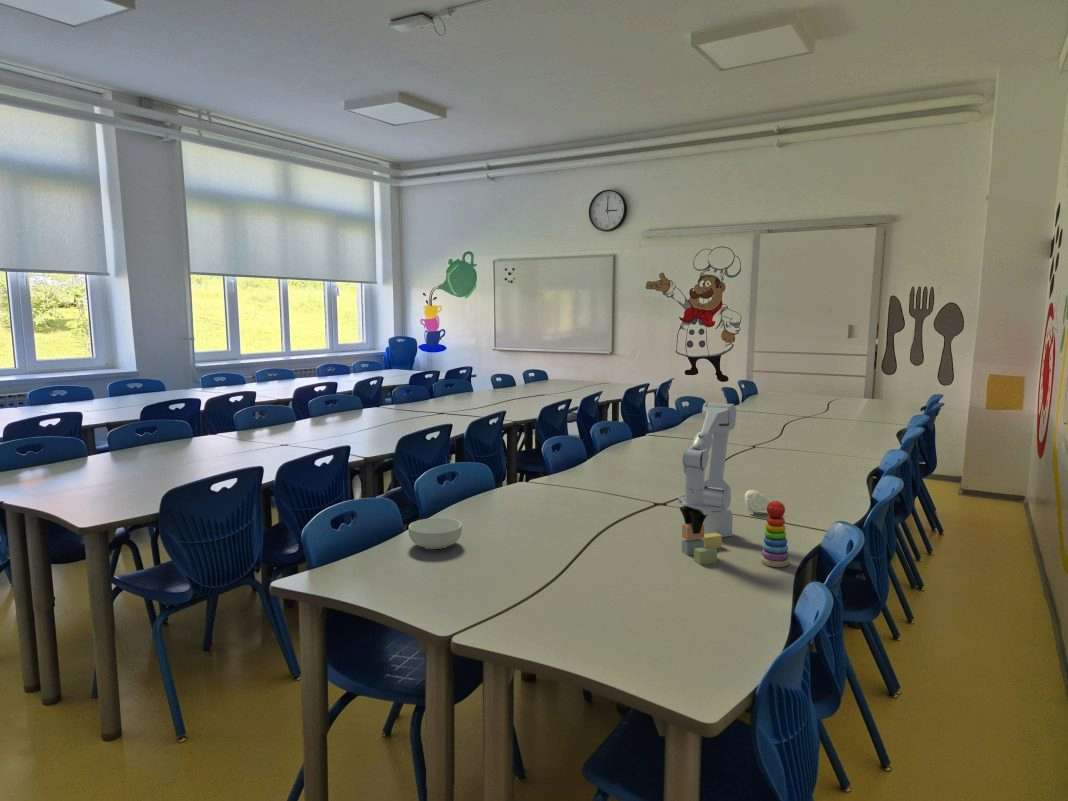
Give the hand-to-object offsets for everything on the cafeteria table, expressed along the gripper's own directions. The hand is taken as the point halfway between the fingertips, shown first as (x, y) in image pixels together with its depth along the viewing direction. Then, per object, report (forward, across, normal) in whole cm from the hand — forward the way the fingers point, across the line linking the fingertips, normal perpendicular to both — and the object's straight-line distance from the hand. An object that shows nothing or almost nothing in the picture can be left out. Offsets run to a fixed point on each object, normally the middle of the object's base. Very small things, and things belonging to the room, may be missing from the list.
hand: (693, 531), depth 204 cm
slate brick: (+7, 0, 0) cm, 7 cm away
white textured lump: (+7, -26, +47) cm, 54 cm away
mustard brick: (+7, -2, +8) cm, 11 cm away
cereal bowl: (+7, -34, -73) cm, 81 cm away
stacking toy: (+7, +16, +17) cm, 25 cm away
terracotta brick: (+2, 0, 0) cm, 2 cm away
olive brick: (+7, +8, -1) cm, 11 cm away
